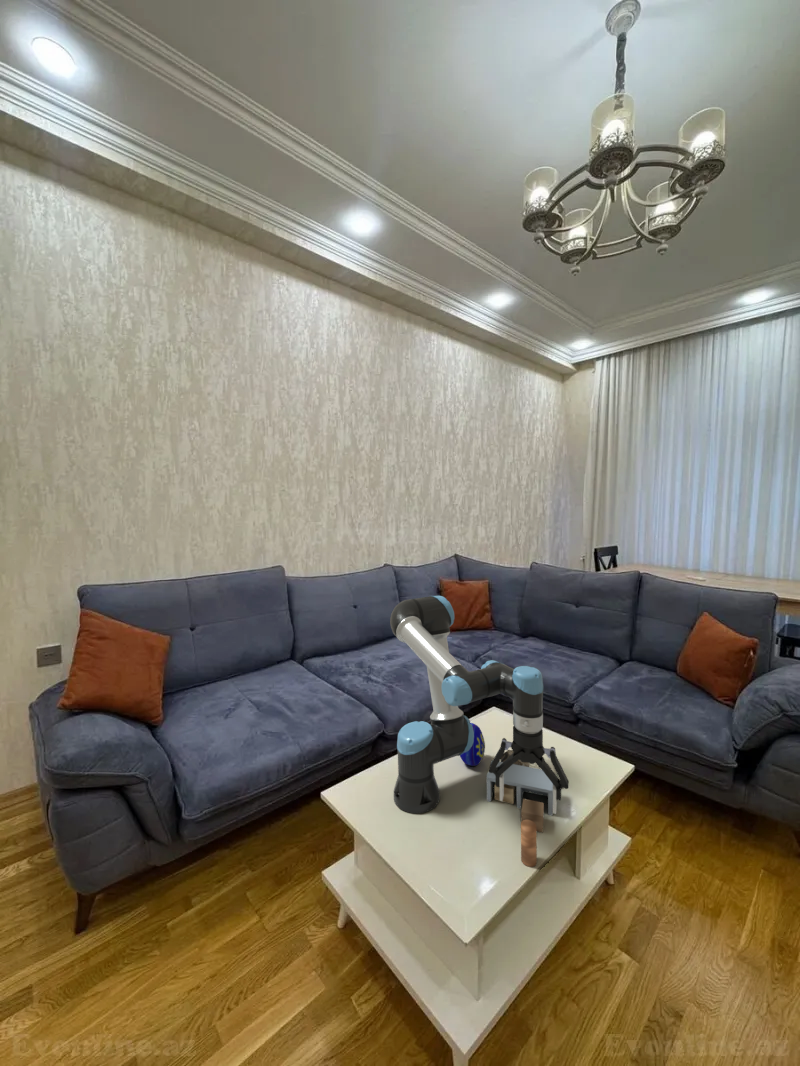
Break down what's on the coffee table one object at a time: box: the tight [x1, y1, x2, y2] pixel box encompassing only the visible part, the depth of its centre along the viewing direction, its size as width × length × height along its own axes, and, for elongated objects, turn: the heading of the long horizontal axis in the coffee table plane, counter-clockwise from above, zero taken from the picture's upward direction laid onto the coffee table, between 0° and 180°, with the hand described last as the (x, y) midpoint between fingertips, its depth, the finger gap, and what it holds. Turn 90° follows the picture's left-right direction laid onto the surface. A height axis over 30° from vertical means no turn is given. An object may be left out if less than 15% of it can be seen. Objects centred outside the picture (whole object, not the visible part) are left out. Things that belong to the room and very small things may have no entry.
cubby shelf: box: [486, 759, 554, 817], centre depth 139 cm, size 20×10×8 cm, turn 68°
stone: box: [500, 749, 531, 767], centre depth 152 cm, size 7×12×7 cm, turn 33°
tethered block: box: [520, 798, 545, 868], centre depth 122 cm, size 6×20×10 cm, turn 159°
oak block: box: [494, 782, 517, 805], centre depth 141 cm, size 6×6×5 cm
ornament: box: [459, 722, 486, 767], centre depth 159 cm, size 11×9×15 cm
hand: (527, 804), depth 114 cm, fingers open, 13 cm apart
